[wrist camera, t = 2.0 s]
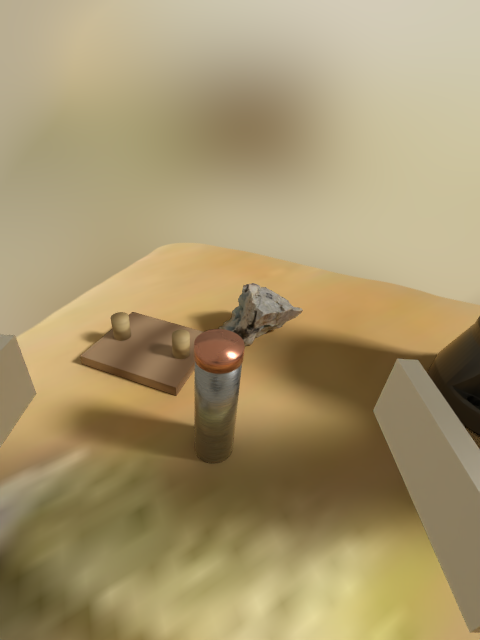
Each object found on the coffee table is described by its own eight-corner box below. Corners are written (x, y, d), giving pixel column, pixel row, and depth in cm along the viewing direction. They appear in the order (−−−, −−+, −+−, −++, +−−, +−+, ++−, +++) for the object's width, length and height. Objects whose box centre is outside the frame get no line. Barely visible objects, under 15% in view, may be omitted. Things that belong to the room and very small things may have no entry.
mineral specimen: (238, 350, 50) (276, 378, 41) (198, 325, 45) (232, 350, 37) (273, 297, 50) (318, 315, 42) (237, 267, 46) (279, 279, 37)
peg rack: (213, 342, 43) (214, 316, 41) (176, 395, 35) (175, 367, 33) (133, 319, 46) (130, 294, 43) (82, 363, 38) (74, 335, 35)
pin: (238, 436, 31) (250, 336, 25) (224, 469, 29) (234, 366, 22) (203, 424, 32) (206, 324, 25) (187, 455, 29) (185, 351, 23)
